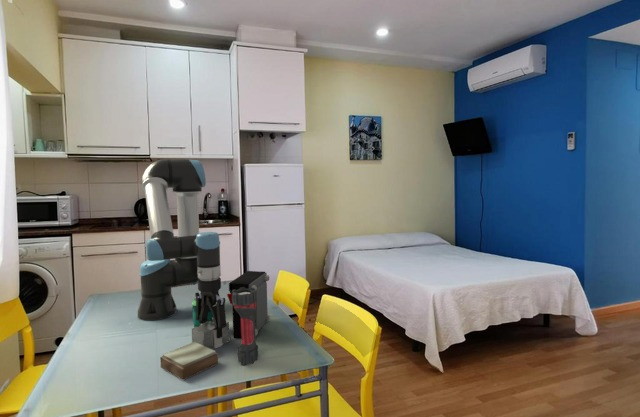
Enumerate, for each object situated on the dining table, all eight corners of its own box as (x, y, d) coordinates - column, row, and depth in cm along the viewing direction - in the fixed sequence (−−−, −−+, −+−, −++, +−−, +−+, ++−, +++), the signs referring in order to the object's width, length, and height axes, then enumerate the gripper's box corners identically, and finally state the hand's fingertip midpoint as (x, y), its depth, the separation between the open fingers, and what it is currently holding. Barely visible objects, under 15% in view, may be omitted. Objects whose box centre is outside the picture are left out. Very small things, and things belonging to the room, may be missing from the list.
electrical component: (255, 340, 134) (254, 284, 132) (228, 337, 136) (226, 283, 134) (271, 321, 151) (270, 271, 149) (247, 319, 153) (246, 270, 151)
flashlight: (236, 370, 113) (234, 295, 111) (231, 359, 120) (229, 288, 118) (261, 365, 116) (260, 291, 114) (255, 354, 123) (253, 285, 121)
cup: (188, 332, 141) (186, 300, 140) (201, 324, 148) (200, 294, 147) (206, 335, 138) (205, 303, 137) (219, 326, 146) (218, 296, 145)
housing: (192, 348, 128) (191, 325, 127) (218, 337, 137) (217, 315, 136) (204, 353, 124) (203, 329, 124) (229, 341, 133) (228, 318, 133)
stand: (160, 367, 115) (160, 354, 115) (195, 352, 124) (195, 340, 124) (183, 380, 108) (182, 366, 107) (218, 363, 117) (217, 351, 117)
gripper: (183, 276, 132) (185, 340, 133) (217, 285, 120) (220, 355, 121) (201, 271, 137) (204, 333, 139) (236, 280, 125) (238, 347, 127)
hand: (211, 343), depth 130 cm, fingers open, 6 cm apart
